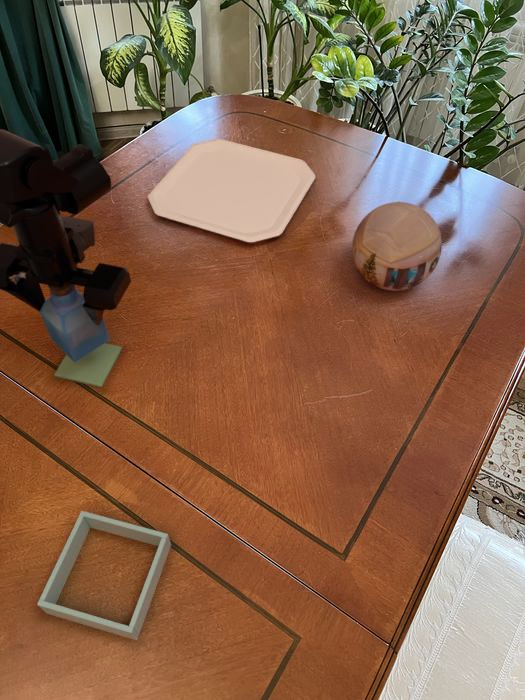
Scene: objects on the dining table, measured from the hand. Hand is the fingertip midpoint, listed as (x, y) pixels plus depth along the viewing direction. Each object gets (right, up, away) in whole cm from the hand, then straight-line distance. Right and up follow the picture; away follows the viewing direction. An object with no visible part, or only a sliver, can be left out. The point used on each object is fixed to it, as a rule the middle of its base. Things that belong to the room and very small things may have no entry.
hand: (71, 317), depth 82 cm
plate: (+21, +28, +37) cm, 51 cm away
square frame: (+9, -33, -11) cm, 36 cm away
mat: (0, -7, +9) cm, 11 cm away
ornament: (+50, +8, +22) cm, 56 cm away
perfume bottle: (0, -3, +4) cm, 5 cm away
